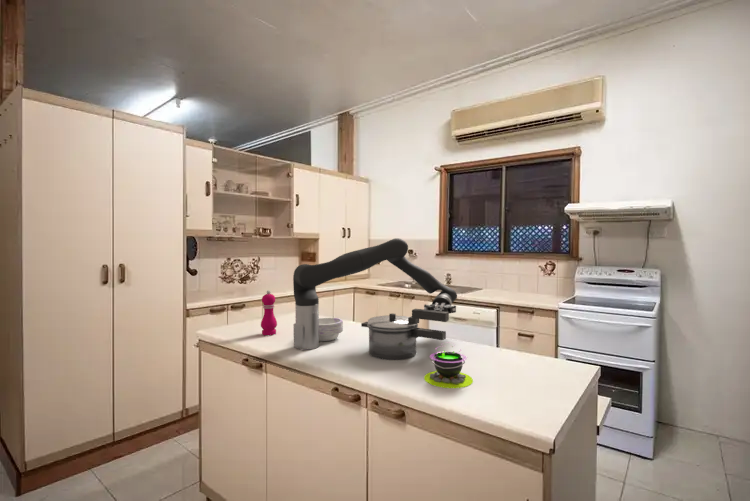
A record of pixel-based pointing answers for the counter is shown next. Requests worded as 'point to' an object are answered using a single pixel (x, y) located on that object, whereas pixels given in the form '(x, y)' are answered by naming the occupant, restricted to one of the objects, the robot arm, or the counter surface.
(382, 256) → the robot arm
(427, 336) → the cooker pot
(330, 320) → the paper bowls
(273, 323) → the pepper mill
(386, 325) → the lid
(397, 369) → the counter surface
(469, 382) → the toy cauldron
